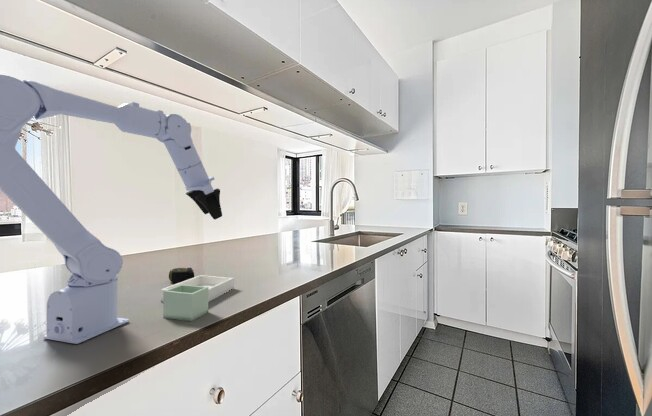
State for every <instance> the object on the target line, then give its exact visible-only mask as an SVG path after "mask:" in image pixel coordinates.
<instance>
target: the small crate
mask: <svg viewBox="0 0 652 416" xmlns="http://www.w3.org/2000/svg"><path fill="white" fill-rule="evenodd" d="M162 303H163V310H162V311H163V313H162V315H163V317H162V318H164V319H173V320H178V321H187V322H194V321H195V320H198V318H201V317H202V316H204V315H205V314H208V313H209V302H208V287H202V286H192V285H179V286H176V287H173V288H171V289H168V290H165V291H163V302H162Z"/></svg>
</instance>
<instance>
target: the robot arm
mask: <svg viewBox="0 0 652 416" xmlns="http://www.w3.org/2000/svg"><path fill="white" fill-rule="evenodd" d="M58 115H59V116H60V115H62V116H63V115H64V116H69V117H76V118H79V119H80V118H81V119H85V120H86V119H87V120H92V121H97V122H103V123H108V124H114V125H115V126H116V127H117V128H118V129H119V130H120V131H121V132H122V133H128V134H132V135H137V136H141V137H142V136H143V137H147V138H152V139H156V140H158V141H159V142H161V143H163V144H164V146H165V149H166V150H167V153H168V154H169V156H170V158H171V159H172V160H171V161H172V162H173V164H174V165H175V169H176V170H177V172H178V174H179V176H180V178H181V179H182V182H183V184H184V186H185V190H186V191H187V192H186V193H185V195H187V196H188V197H189V198H190V199H191V200H193V202H194V203H195V204H196V205H197V207H199V209H200V210H201V211H202V213H203V214H204V215H207V214H209V216H210V217H211V218H212V219H213V220H217V219H219V218H221V217H222V216H223V212H222V207H221V202H220V201H221V200H220V195H221V189H220V188H214V187H213V186H212V181H215V177H214V176H209V175H208V173H207V171H206V169H205V167H204V165H203V162H202V160H201V157H200V155H199V153H198V151H197V149H196V147H195V144H194V143H193V142H194V140H193V138H192V136H191V135H192V126H191V123H190V122H187V120H186V119H185V118H184V117H183V116H182V115H180V114H177V113H171V114H168V115H167V114H166V113H164V111H163V110H161V109H158V110H153V109H148V108H146V107H145V108H144V107H142V106H140V103H138V102H134V101H131V102H129V103H122V104H121V105H119V106H115V105H111V104H108V103H104V102H101V101H98V100H95V99H91V98H88V97H84V96H82V95H81V96H80V95H78V94H74V93H71V92H68V91H64V90H62V89H58V88H54V87H51V86H48V85H45V84H44V83H40V82H37V81H35V80H34V81H33V80H28V79H24V80H21V79H18V78H16V77H13V76H11V75H5V74H0V190H1V192H2V193H4V195H6V197H7V198H8V199H9V200H11V202H12V204H14V205H15V206H16V207H17V208H18V209H19V210H20V211H21V212H22V213H23V214H24V215H25V216H26V217H27V218H28V219H29V220H30V221H31V222H32V224H34V225H35V226H36V228H38V229H39V230H40V231H41V232H42V233H43V234H44V236H46V237H47V238H48V239H49V241H50V242H52V244H53V245H54V246H55V248H56V250H57V251H58V252H59V254H60V255H61V256H62V257H63V260H64V266H65V269H66V270H67V271H68V272H70V273H71V275H70V277H69V278H68V280H67V285H65V287H63V288H61V289H58V290H56V291H53V292H52V293H50V294H49V296H48V298H47V302H46V334H45V335H43V339H46V340H52V341H57V342H63V343H69V344H73V345H74V344H75V345H77V344H81V343H82V342H86V341H88V340H89V339H92V338H94V337H97V336H99V335H101V334H104V333H106V332H108V331H111V330H113V329H115V328H117V327H119V326H122V325H124V324H127V323H128V322H130V319H129V318H125V317H118V299H119V298H118V291H119V290H118V289H119V288H118V285H119V284H118V281H119V280H118V274H119V273H120V272H121V270H122V268H123V264H124V263H123V258H122V255H121V254H120V252H118V251H117V250H116V249H114V248H111V247H109V246H107V245H105V244H104V243H102V241H101V240H100V239H99V238H98V237H97V236H95V235H94V234H93V233H91V232H90V231H89V230H87V228H86V227H85V226H84V225H83V224H82V223H81V222H80V221H79V219H78V218H77V217H76V216H75V215H74V214H73V212H71V211H70V209H69V208H68V207H67V206H66V205H65V204H64V203H63V202H62V200H61V199H60V198H59V197H58V196H57V194H55V192H54V191H53V190H52V189H51V188H50V186H48V185H47V184H46V182H45V181H44V180H43V178H41V177H40V176H39V175H38V173H37V172H36V171H35V170H34V169H33V168H32V167H31V166H30V164H29V163H28V162H27V161H26V160H25V158H23V156H22V155H21V154H20V153H19V152H18V150H17V149H16V145H17V143H18V142H19V139H20V136H21V134H22V130H23V127H25V126H26V125H27V123H29V122H30V121H31V120H32V119H33V118H35V120H36V121H38V120H41V119H42V120H43V119H46V118H49V117H54V116H58Z"/></svg>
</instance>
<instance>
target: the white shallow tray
mask: <svg viewBox="0 0 652 416" xmlns="http://www.w3.org/2000/svg"><path fill="white" fill-rule="evenodd" d="M179 285H192V286H202V287H208V303H209V302H211V301H213V300H215V299H217V298H219V297H220V296H223V295H224V293H225V294H227V293H228V292H230V291H232V290H234V289H235V277H226V276H213V275H204V274H203V275H201V274H200V275H197V276H194V278H191V279H188V280H185V281H183V282H177V283H175V284H172V285H170V286H167V287H163V288H161V289H160V302H161V303H163V291H165V290H168V289H171V288H173V287H176V286H179ZM233 288H234V289H233ZM231 289H232V290H231ZM229 290H230V291H229ZM226 292H227V293H226Z"/></svg>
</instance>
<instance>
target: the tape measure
mask: <svg viewBox="0 0 652 416" xmlns="http://www.w3.org/2000/svg"><path fill="white" fill-rule="evenodd" d="M194 271H195V270H193V268H192V267H175V268H172V269H170V270H169V272H168V279H169V281H170V282H172V283H176V282H177V283H180V282H183V281H185V280H188V279H191V278H194V277H195V272H194Z"/></svg>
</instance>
